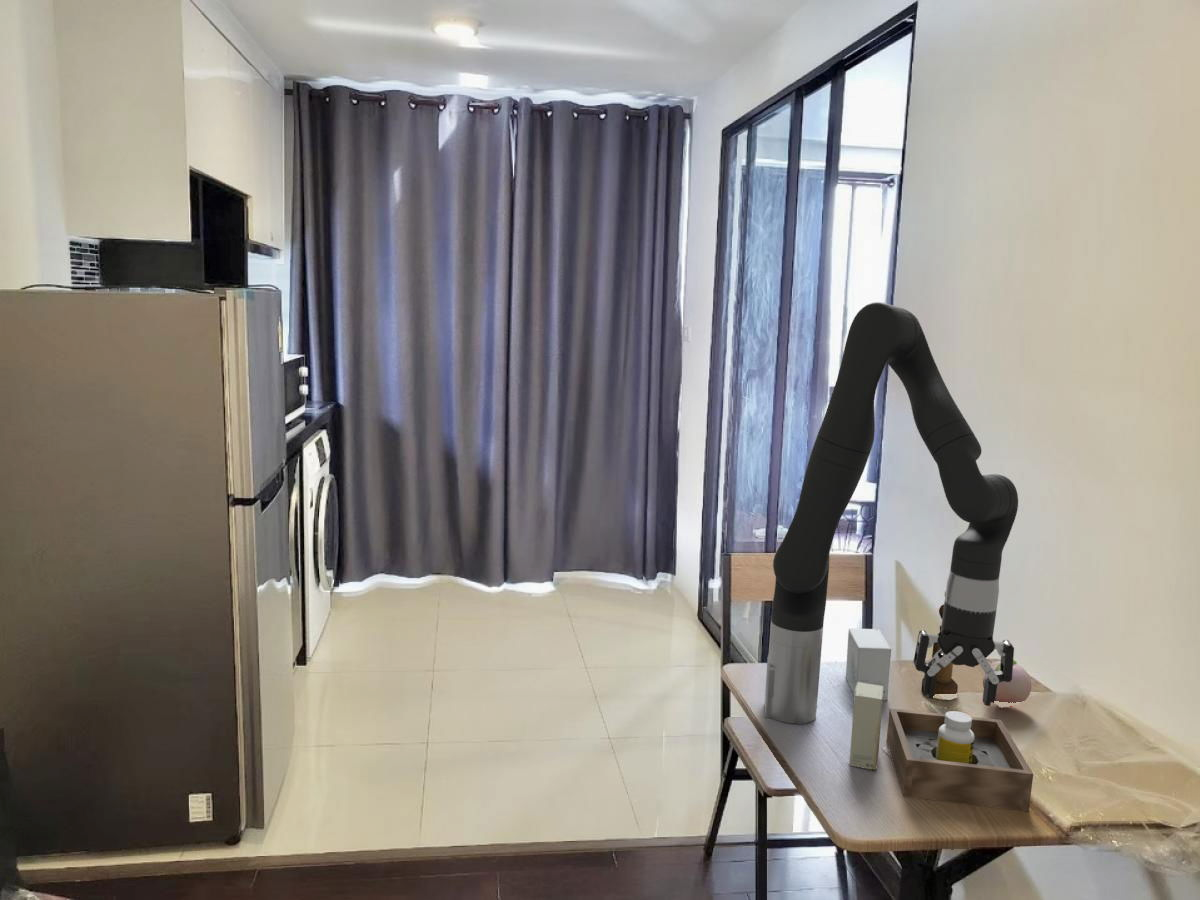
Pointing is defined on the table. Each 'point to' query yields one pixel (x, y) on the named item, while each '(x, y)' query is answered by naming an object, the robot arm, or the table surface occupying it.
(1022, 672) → the decorative fruit
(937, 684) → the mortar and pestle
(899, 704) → the table surface
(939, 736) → the supplement bottle
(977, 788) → the bore box
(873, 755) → the skincare box
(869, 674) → the skincare box
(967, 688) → the table surface
